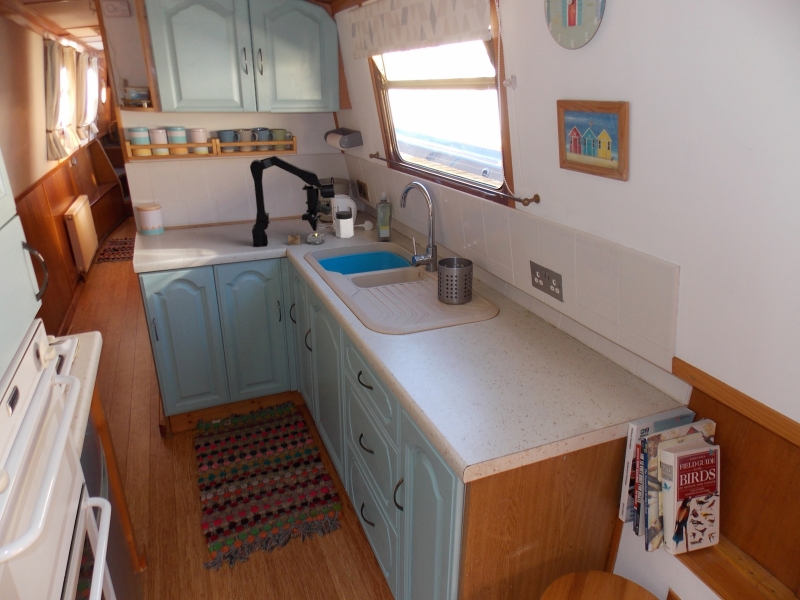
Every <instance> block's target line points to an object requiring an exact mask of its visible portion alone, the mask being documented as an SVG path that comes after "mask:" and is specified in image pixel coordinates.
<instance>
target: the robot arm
mask: <svg viewBox="0 0 800 600" xmlns="http://www.w3.org/2000/svg"><path fill="white" fill-rule="evenodd" d="M274 166H275V167H277V168H279V169H282V170H284V171H286V172H287V173H290V174H292V175H294V176H296V177H298V178H299V179H301V181H303V182H305V183H306V184H304V185H303V187H302V188H301V189H302V191H306V201H305V204H306V206H307V209H306V210H305V211H306V212H304V213H303V214H302V216H301V220H302V221H308V223H309V225H310V227H311V229H312V230H313V232H316V231H317V229H318V223H319V219H320V218H321V217H323V216H322V214H323V215H325V216H329V215H330V214H331V211H332V210H333V208H332V207H333V206H332V205H331V204H332V203H330V202H327V203H326V204H325V203H322V200H321V199H320V197H322V199H335V194H336V193H335V187H334V183H333V182H332V183H322V181H320V180H319V177H318V174H317V173H316V172H315V171H312V170H309V169H306V168H301V167H299V166H296V165H294V164H292V163H291V162H288V161H286V160H284V159H283V158H280V157H279V156H277V155H272V156H269V157H267V158H263V159H257V158H256V159H254V160H252V161H251V162H250V166H249V169H250V172H251V176H252V179H253V182H254V183H253V185H254V193H255V204H256V205H255V206H256V218H255V223H254V224H253V225H252V228H251V235H252V236H251V237H252V247H254V248H255V247H256V248H257V247H266V246H268V245H269V241H268V240H269V239H268V234H267V231H266V230H267V229H268V228H269V225H270V223H271V220H270V213H269V212H267V211H266V206H265V195H264V185H263V174H264V170H267V169H268V168H271V167H274ZM314 186H315V187H314ZM320 213H322V214H320Z"/></svg>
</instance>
